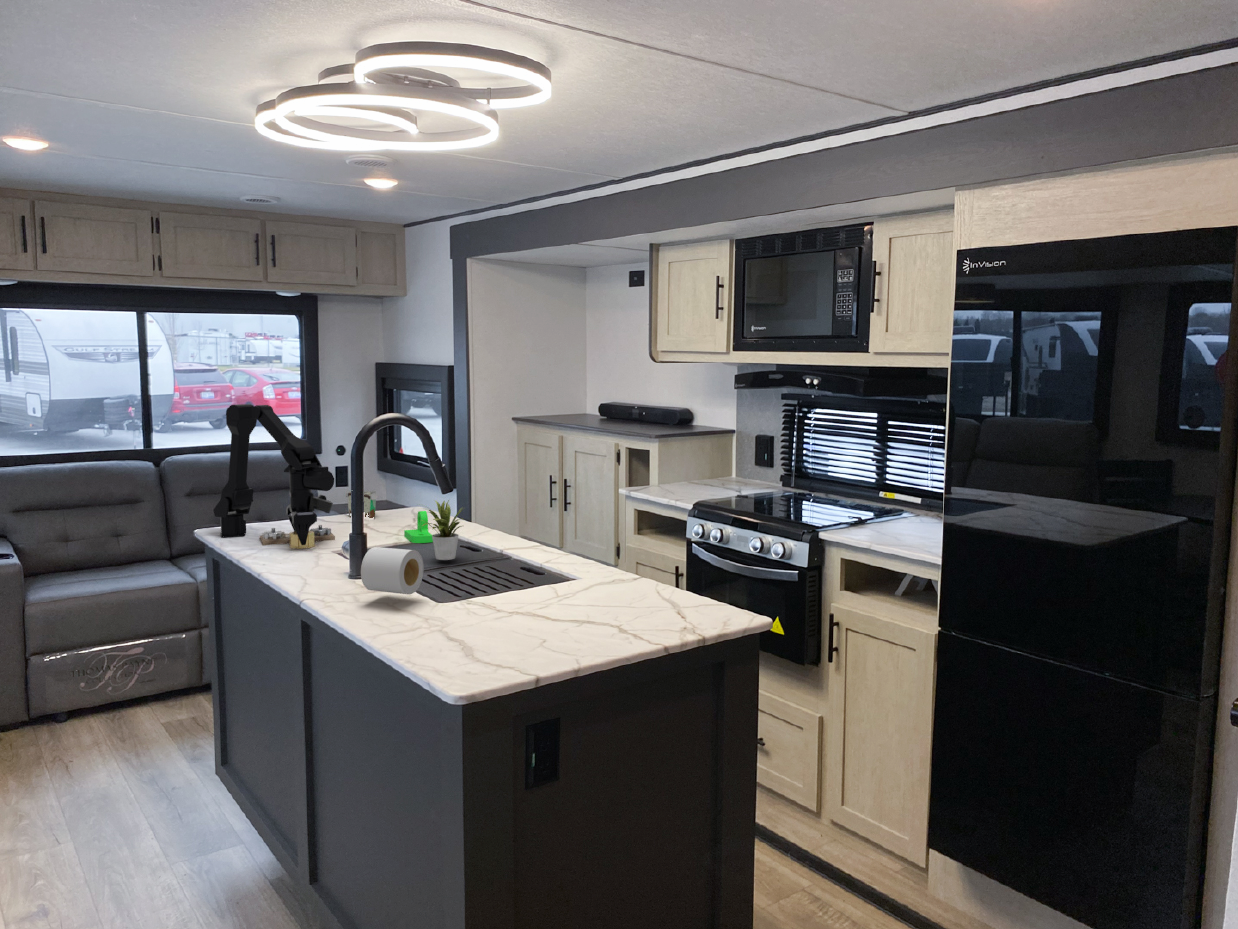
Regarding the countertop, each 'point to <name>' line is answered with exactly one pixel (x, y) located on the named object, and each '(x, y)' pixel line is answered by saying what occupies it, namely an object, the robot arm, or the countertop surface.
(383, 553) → the toilet paper
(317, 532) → the gear
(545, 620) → the countertop surface
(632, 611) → the countertop surface
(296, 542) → the tan hollow octagonal ring
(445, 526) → the house plant
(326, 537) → the gear board
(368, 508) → the food container
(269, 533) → the gear
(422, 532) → the mechanical part
